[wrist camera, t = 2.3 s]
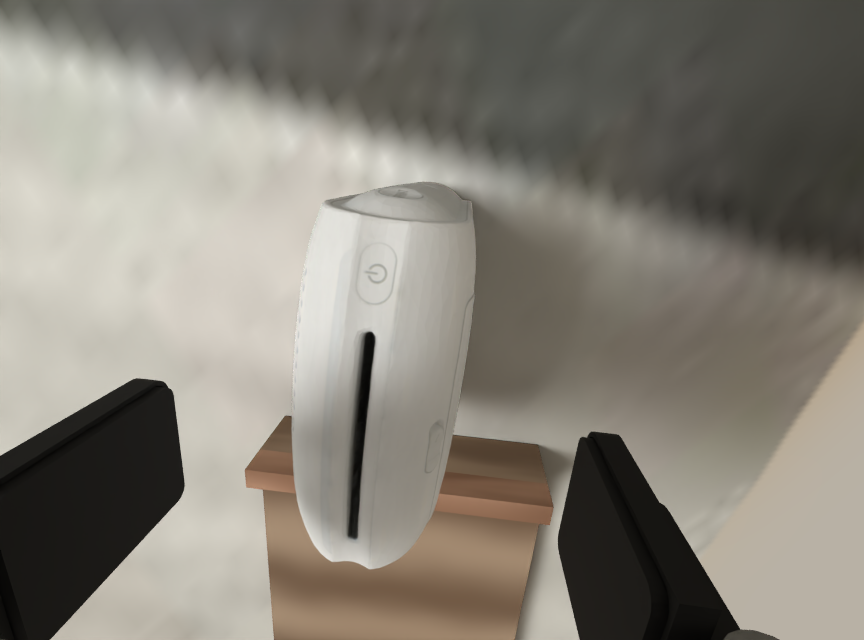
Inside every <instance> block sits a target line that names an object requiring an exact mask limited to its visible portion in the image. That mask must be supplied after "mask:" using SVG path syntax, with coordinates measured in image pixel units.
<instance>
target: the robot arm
mask: <svg viewBox="0 0 864 640" xmlns="http://www.w3.org/2000/svg"><path fill="white" fill-rule="evenodd" d="M183 491H184V475H183V467H182V459H181V451H180V443H179V435H178V427H177V419H176V411H175V402H174V395H173V392H172V390H171V389H169V388H168V386H167V385H166V383H164V382H163V381H156V380H148V379H137V378H136V379H133V380H131V381H129V382H128V383H126V384H124V385H122V386H121V387H119V388H117V389H115V390H114V391H112V392H110V393H109V394H107V395H105V396H103V397H102V398H100V399H98V400H96V401H95V402H93V403H91V404H89V405H88V406H86V407H84V408H83V409H81V410H79V411H77V412H76V413H74V414H72V415H70V416H69V417H67V418H65V419H63V420H62V421H60V422H58V423H57V424H55V425H53V426H51V427H50V428H48V429H46V430H44V431H43V432H41V433H39V434H37V435H36V436H34V437H32V438H30V439H29V440H27V441H25V442H24V443H22V444H20V445H18V446H17V447H15V448H13V449H11V450H10V451H8V452H6V453H4V454H3V455H1V456H0V640H50V639H51V638H52V637H53V636H54V635H55V634H56V633H57V632H58V630H59V629H60V628H61V627H62V626H63V625H64V624H65V623H66V622H67V621H68V620H69V619H70V618H71V616H72V615H73V614H74V613H75V612H76V611H77V610H78V609H79V608H80V607H81V606H82V605H83V603H84V602H85V601H86V600H87V599H88V598H89V597H90V596H91V595H92V594H93V593H94V592H95V590H96V589H97V588H98V587H99V586H100V585H101V584H102V583H103V582H104V581H105V580H106V579H107V578H108V576H109V575H110V574H111V573H112V572H113V571H114V570H115V569H116V568H117V567H118V566H119V565H120V563H121V562H122V561H123V560H124V559H125V558H126V557H127V556H128V555H129V554H130V553H131V552H132V550H133V549H134V548H135V547H136V546H137V545H138V544H139V543H140V542H141V541H142V540H143V539H144V538H145V536H146V535H147V534H148V533H149V532H150V531H151V530H152V529H153V528H154V527H155V526H156V525H157V523H158V522H159V521H160V520H161V519H162V518H163V517H164V516H165V515H166V514H167V513H168V512H169V510H170V509H171V508H172V507H173V506H174V505H175V504H176V503H177V502H178V501H179V499H180V498H181V496H182V494H183ZM558 549H559V555H560V559H561V563H562V567H563V571H564V576H565V580H566V584H567V588H568V592H569V597H570V601H571V605H572V609H573V613H574V618H575V622H576V626H577V630H578V634H579V639H580V640H779V639H777V638H775V637H773V636H770V635H767V634H764V633H761V632H758V631H754V630H740V628H739V626H738V625H737V623H736V621H735V620H734V618H733V616H732V615H731V613H730V611H729V610H728V609H727V607H726V605H725V603H724V602H723V600H722V598H721V597H720V595H719V593H718V592H717V590H716V588H715V587H714V585H713V583H712V582H711V580H710V578H709V577H708V575H707V573H706V572H705V570H704V568H703V567H702V565H701V563H700V562H699V560H698V558H697V557H696V555H695V554H694V552H693V550H692V549H691V547H690V545H689V544H688V542H687V540H686V539H685V537H684V535H683V534H682V532H681V530H680V529H679V527H678V525H677V524H676V522H675V520H674V519H673V517H672V515H671V514H670V512H669V511H668V509H667V508H666V507H665V506H664V505H663V504H661V503H659V501H658V499H657V498H656V496H655V494H654V493H653V491H652V489H651V488H650V486H649V484H648V483H647V481H646V479H645V477H644V476H643V474H642V472H641V471H640V469H639V467H638V466H637V464H636V462H635V461H634V459H633V457H632V455H631V454H630V452H629V450H628V449H627V447H626V445H625V444H624V442H623V440H622V438H621V437H620V436H619V435H617V434H608V433H600V432H590V433H589V435H588V438H585V437H581V438H580V440H579V443H578V447H577V452H576V456H575V461H574V465H573V470H572V475H571V479H570V484H569V488H568V493H567V497H566V502H565V506H564V511H563V515H562V520H561V525H560V529H559V534H558Z"/></svg>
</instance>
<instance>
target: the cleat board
mask: <svg viewBox="0 0 864 640" xmlns="http://www.w3.org/2000/svg"><path fill="white" fill-rule="evenodd" d="M245 477H246V487H248V488H256V489H263V496H264V510H265V523H266V537H267V550H268V564H269V577H270V591H271V605H272V618H273V632H274V640H515V635H516V630H517V626H518V621H519V616H520V611H521V607H522V602H523V597H524V593H525V588H526V583H527V578H528V574H529V569H530V564H531V560H532V555H533V550H534V545H535V541H536V536H537V531H538V527H539V524H545V525H550V521H551V517H552V512H553V508H554V507H553V503H552V499H551V495H550V491H549V487H548V483H547V479H546V475H545V471H544V467H543V463H542V459H541V455H540V451H539V447H538V445H534V444H525V443H517V442H508V441H499V440H490V439H482V438H473V437H464V436H456V435H453V436H452V441H451V446H450V451H449V455H448V460H447V464H446V469H445V473H444V477H443V481H442V484H441V488H440V492H439V496H438V500H437V503H436V506H435V509H434V512H433V514H432V516H431V518H430V520H429V521H428V523H427V524H426V526H425V528H424V530H423V532H422V533H421V535H420V536H419V538H418V540H417V541H416V543H415V544H414V545H413V546H412V548H411V549H410V550H409V551H408V552H407V553H406V554H404V555H403V556H402V557H401V558H399V559H398V560H396V561H394V562H392V563H390V564H388V565H386V566H383V567H381V568H376V569H368V568H366V567H364V566H362V565H361V564H359V563H356V562H351V561H340V562H331V561H330V560H328V559H326V558H325V557H324V556H323V555H322V554H321V553H320V552H319V551H318V549H317V548H316V547H315V546H314V544H313V542H312V540H311V538H310V536H309V534H308V532H307V530H306V527H305V525H304V522H303V519H302V516H301V514H300V510H299V506H298V502H297V495H296V489H295V482H294V472H293V453H292V417H290V416H285V417H284V418H283V419H282V421H281V422H280V423H279V425H278V426H277V427H276V429H275V430H274V431H273V433H272V434H271V435H270V437H269V438H268V439H267V441H266V442H265V443H264V445H263V446H262V447H261V449H260V450H259V452H258V453H257V454H256V456H255V457H254V458H253V460H252V461H251V462H250V464H249V465H248V466H247V468H246V469H245Z"/></svg>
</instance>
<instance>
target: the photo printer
mask: <svg viewBox="0 0 864 640" xmlns="http://www.w3.org/2000/svg"><path fill="white" fill-rule="evenodd" d="M475 274H476V240H475V229H474V220H473V208H472V202H471V201H470V200H462V199H461V198H460V197H459V196H458V195H457V194H456V193H455V192H454V191H453V190H451V189H450V188H448V187H446V186H444V185H441V184H438V183H434V182H418V183H410V184H403V185H396V186H390V187H384V188H379V189H374V190H371V191H367V192H365V193H362V194H357V195H351V196H345V197H339V198H336V199H330V200H326V201H324V202H323V203H322V205H321V208H320V211H319V213H318V216H317V219H316V222H315V225H314V228H313V231H312V233H311V237H310V241H309V245H308V249H307V254H306V259H305V265H304V271H303V276H302V282H301V290H300V298H299V306H298V316H297V324H296V334H295V347H294V364H293V387H292V453H293V472H294V482H295V489H296V495H297V502H298V506H299V510H300V514H301V516H302V519H303V522H304V525H305V527H306V530H307V532H308V534H309V536H310V538H311V540H312V542H313V544H314V546H315V547H316V548H317V549H318V551H319V552H320V553H321V554H322V555H323V556H324V557H325V558H326V559H328V560H330V561H331V562H340V561H351V562H356V563H359V564H361V565H362V566H364V567H366V568H368V569H376V568H381V567H383V566H386V565H388V564H390V563H392V562H394V561H396V560H398V559H399V558H401V557H402V556H403V555H404V554H406V553H407V552H408V551H409V550H410V549H411V548H412V546H413V545H414V544H415V543H416V541H417V540H418V538H419V536H420V535H421V533H422V532H423V530H424V528H425V526H426V524H427V523H428V521H429V520H430V518H431V516H432V514H433V512H434V509H435V506H436V503H437V500H438V496H439V492H440V488H441V484H442V481H443V477H444V473H445V469H446V464H447V460H448V455H449V451H450V446H451V441H452V436H453V431H454V426H455V421H456V416H457V411H458V406H459V400H460V395H461V388H462V382H463V377H464V370H465V364H466V358H467V351H468V344H469V338H470V331H471V324H472V314H473V305H474V300H475V293H474V285H475Z"/></svg>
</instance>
